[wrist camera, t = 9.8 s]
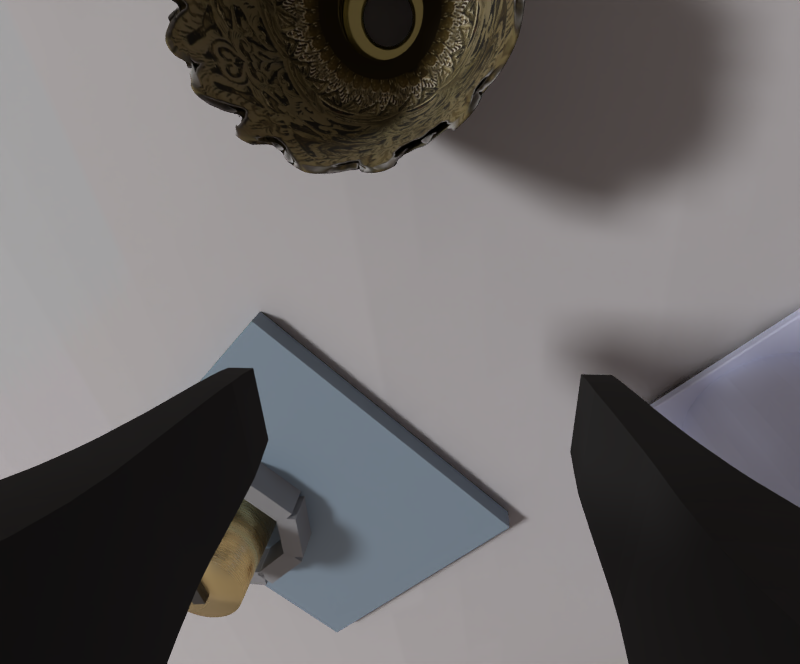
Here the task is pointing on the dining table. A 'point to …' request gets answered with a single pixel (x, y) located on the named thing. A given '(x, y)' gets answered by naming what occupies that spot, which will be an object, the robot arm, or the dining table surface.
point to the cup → (342, 73)
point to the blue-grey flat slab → (347, 488)
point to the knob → (233, 563)
